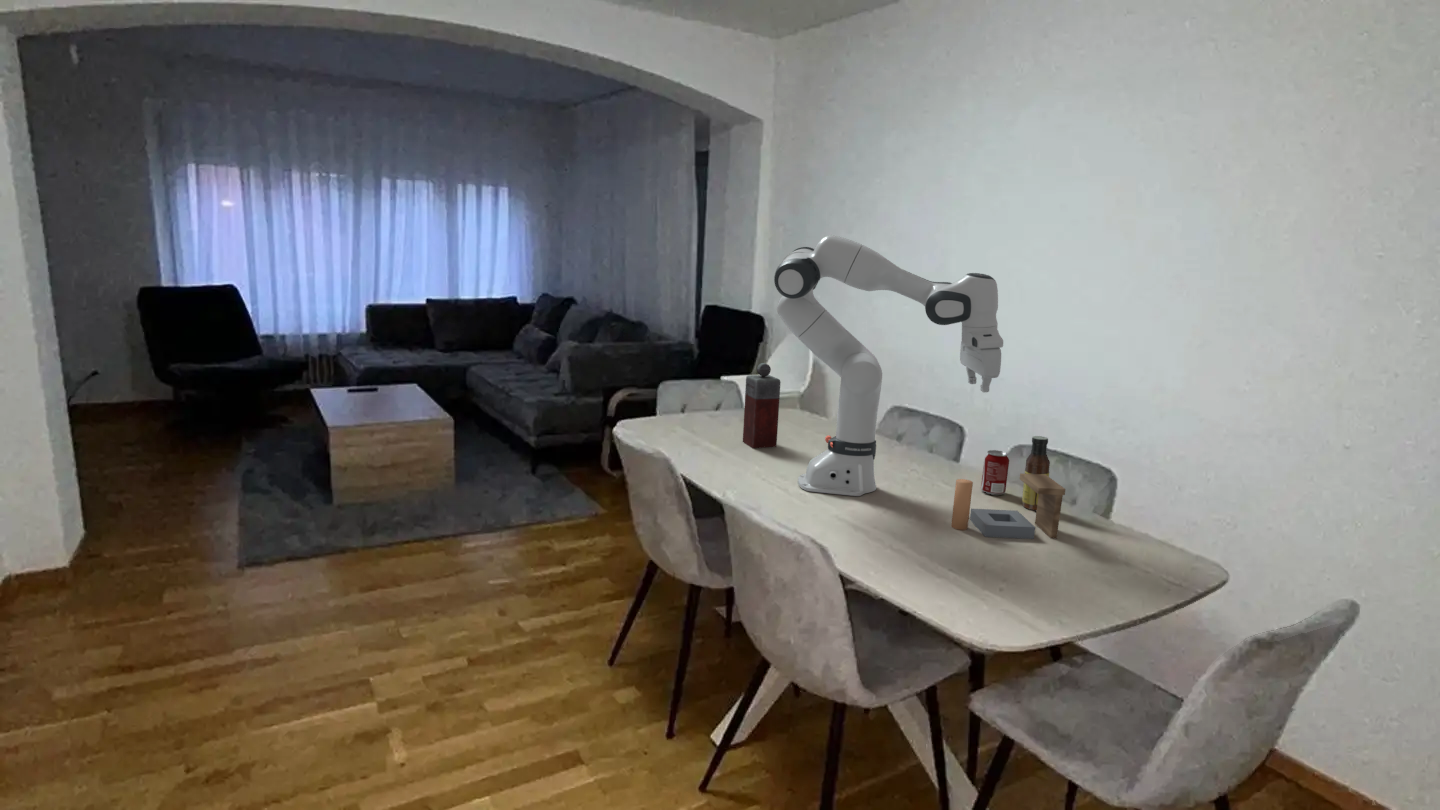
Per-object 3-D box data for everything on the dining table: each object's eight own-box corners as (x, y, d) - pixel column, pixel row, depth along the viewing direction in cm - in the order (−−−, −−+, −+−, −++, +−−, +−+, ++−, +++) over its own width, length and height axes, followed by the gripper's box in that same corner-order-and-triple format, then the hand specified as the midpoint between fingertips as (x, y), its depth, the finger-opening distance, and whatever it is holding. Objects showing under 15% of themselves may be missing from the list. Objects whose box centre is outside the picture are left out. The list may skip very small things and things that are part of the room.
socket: (984, 536, 193) (986, 525, 192) (969, 519, 204) (971, 508, 204) (1033, 538, 193) (1035, 527, 192) (1015, 521, 205) (1017, 510, 204)
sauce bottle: (1044, 506, 218) (1054, 436, 214) (1046, 513, 212) (1056, 441, 208) (1019, 502, 220) (1028, 433, 216) (1020, 509, 214) (1029, 438, 210)
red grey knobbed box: (763, 438, 277) (767, 360, 272) (776, 447, 267) (781, 365, 261) (739, 440, 274) (743, 360, 268) (752, 448, 264) (757, 365, 258)
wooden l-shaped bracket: (1031, 538, 193) (1038, 488, 190) (1014, 521, 204) (1020, 473, 202) (1058, 540, 193) (1065, 489, 190) (1039, 522, 205) (1045, 474, 202)
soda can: (1006, 497, 224) (1011, 456, 222) (981, 495, 225) (986, 454, 223) (1003, 490, 231) (1008, 450, 228) (979, 488, 232) (983, 448, 229)
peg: (953, 529, 197) (958, 483, 194) (949, 524, 200) (954, 478, 198) (969, 530, 197) (975, 484, 194) (964, 524, 201) (970, 479, 198)
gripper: (954, 330, 215) (953, 379, 219) (981, 343, 196) (979, 397, 199) (977, 328, 215) (976, 378, 219) (1006, 341, 196) (1004, 395, 199)
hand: (978, 387), depth 209 cm, fingers open, 8 cm apart
